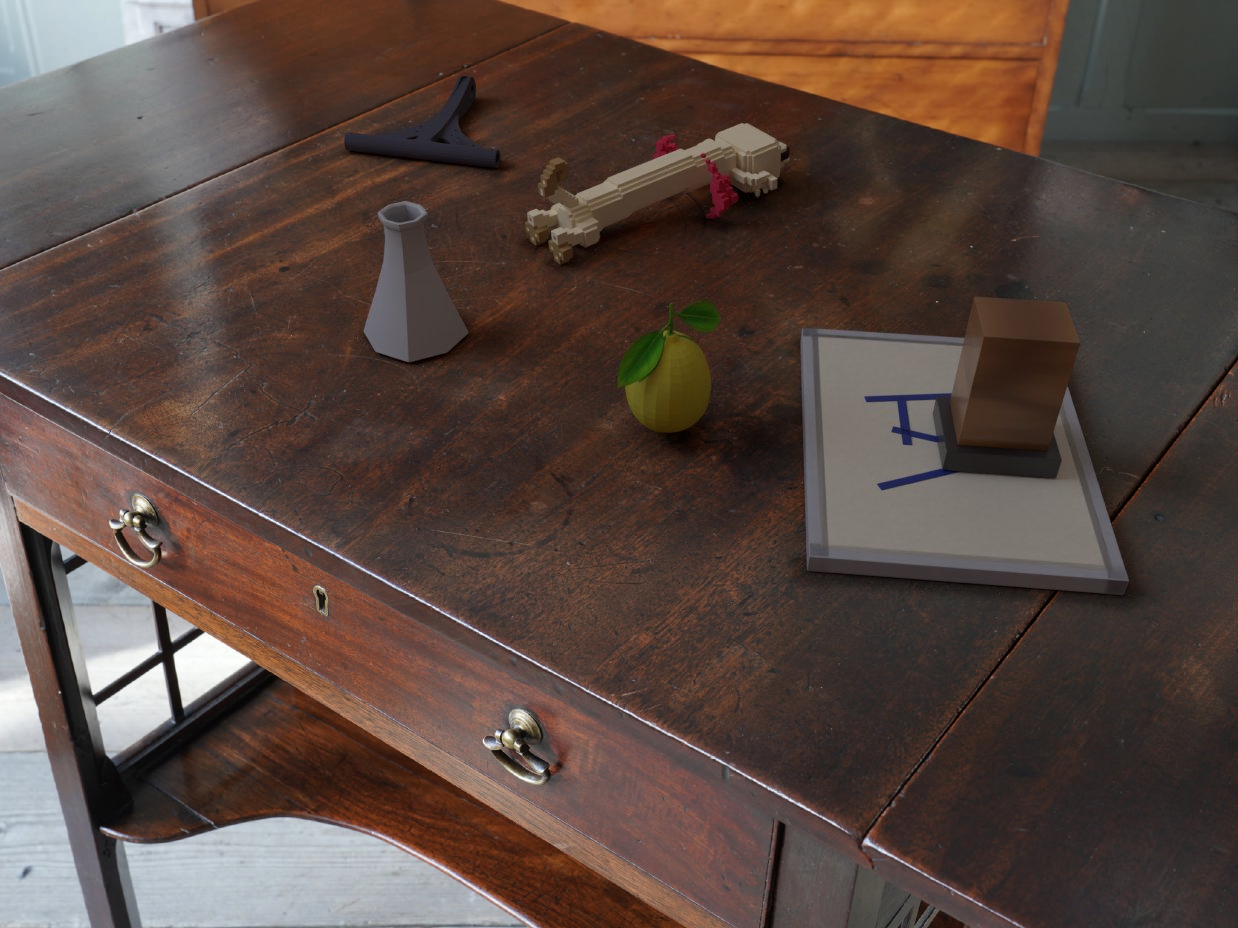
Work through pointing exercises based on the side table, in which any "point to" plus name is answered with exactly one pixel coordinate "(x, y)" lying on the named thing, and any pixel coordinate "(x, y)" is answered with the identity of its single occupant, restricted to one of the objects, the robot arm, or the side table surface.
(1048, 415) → the eraser
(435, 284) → the flask
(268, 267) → the side table surface
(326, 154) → the side table surface
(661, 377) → the lemon
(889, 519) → the board
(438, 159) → the bracket
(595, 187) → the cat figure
